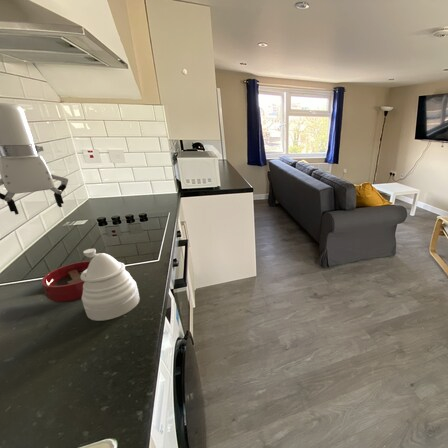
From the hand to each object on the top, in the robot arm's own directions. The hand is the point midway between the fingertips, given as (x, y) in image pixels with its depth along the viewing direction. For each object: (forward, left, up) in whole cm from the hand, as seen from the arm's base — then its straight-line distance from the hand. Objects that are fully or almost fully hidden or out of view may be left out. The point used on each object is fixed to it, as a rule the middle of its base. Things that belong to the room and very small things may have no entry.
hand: (39, 209), depth 79 cm
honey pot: (+22, -19, -24) cm, 38 cm away
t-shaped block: (+8, -6, -24) cm, 26 cm away
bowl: (+8, -7, -24) cm, 27 cm away
